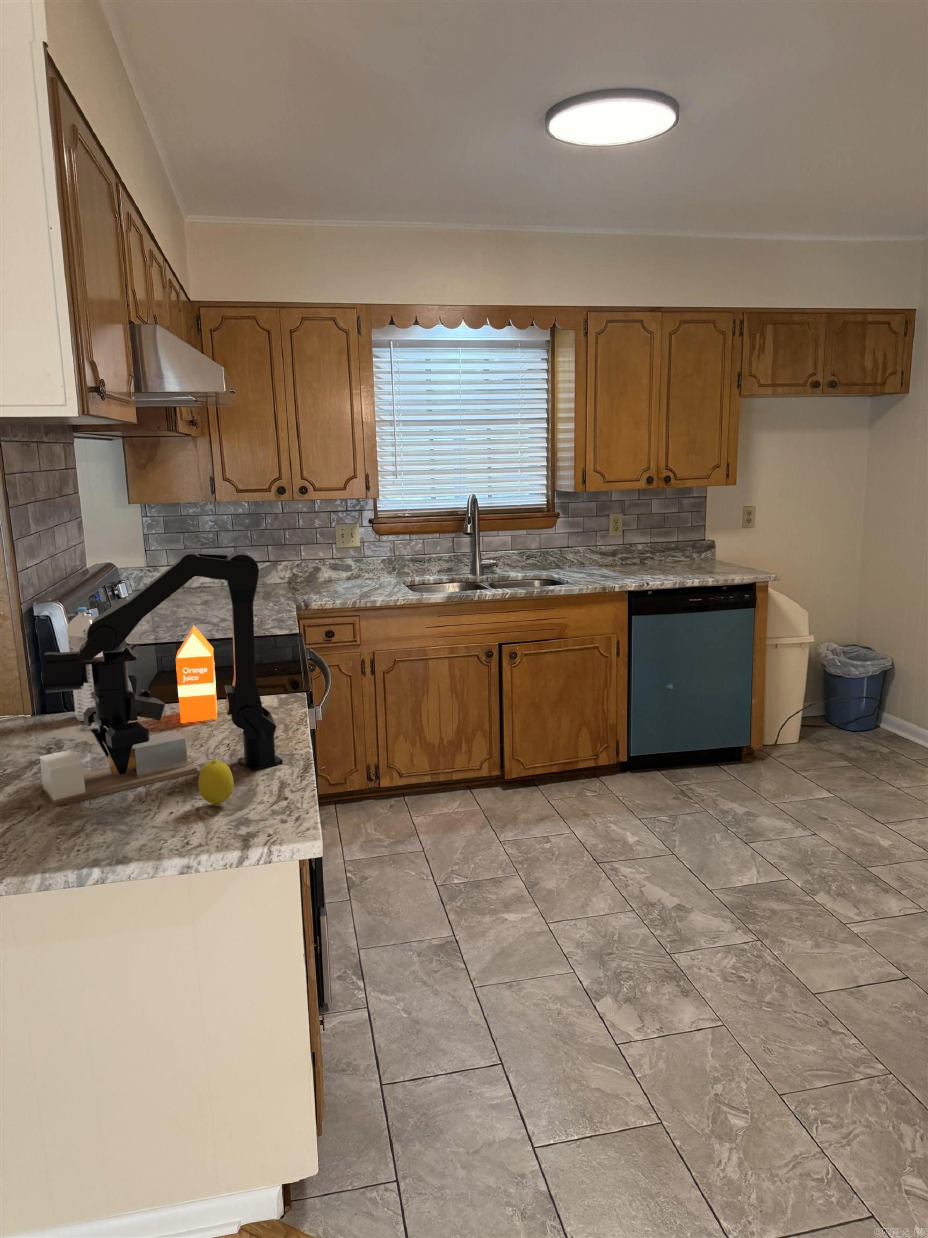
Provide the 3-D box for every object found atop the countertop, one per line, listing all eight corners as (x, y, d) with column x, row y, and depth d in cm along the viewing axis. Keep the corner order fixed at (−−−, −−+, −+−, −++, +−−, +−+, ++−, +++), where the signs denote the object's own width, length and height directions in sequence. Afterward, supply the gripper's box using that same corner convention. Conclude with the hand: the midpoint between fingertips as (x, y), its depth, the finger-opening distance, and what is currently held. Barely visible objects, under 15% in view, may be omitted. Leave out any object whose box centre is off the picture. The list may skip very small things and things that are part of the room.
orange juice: (180, 723, 181) (172, 633, 177) (182, 712, 189) (175, 626, 185) (217, 720, 183) (211, 631, 179) (218, 709, 191) (212, 623, 187)
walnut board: (197, 772, 153) (197, 768, 152) (55, 806, 138) (55, 802, 138) (178, 757, 160) (177, 753, 160) (42, 788, 146) (41, 784, 146)
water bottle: (101, 723, 182) (90, 610, 177) (70, 723, 182) (58, 610, 177) (114, 713, 189) (104, 605, 184) (84, 713, 189) (73, 605, 184)
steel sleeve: (187, 765, 153) (185, 737, 152) (137, 777, 148) (134, 748, 147) (176, 757, 158) (174, 730, 157) (127, 768, 152) (125, 740, 151)
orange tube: (187, 759, 154) (186, 740, 154) (114, 776, 147) (112, 756, 146) (180, 754, 157) (179, 735, 156) (108, 770, 149) (107, 751, 149)
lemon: (222, 796, 141) (218, 751, 140) (241, 804, 138) (238, 758, 136) (193, 807, 137) (189, 761, 136) (213, 815, 134) (209, 768, 132)
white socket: (85, 792, 142) (82, 762, 141) (53, 800, 139) (50, 769, 138) (73, 778, 148) (70, 750, 147) (42, 785, 145) (39, 756, 144)
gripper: (175, 689, 143) (182, 775, 146) (141, 668, 158) (148, 747, 161) (108, 701, 137) (117, 791, 140) (78, 678, 151) (87, 760, 154)
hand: (119, 770), depth 149 cm, fingers closed on orange tube, 4 cm apart
